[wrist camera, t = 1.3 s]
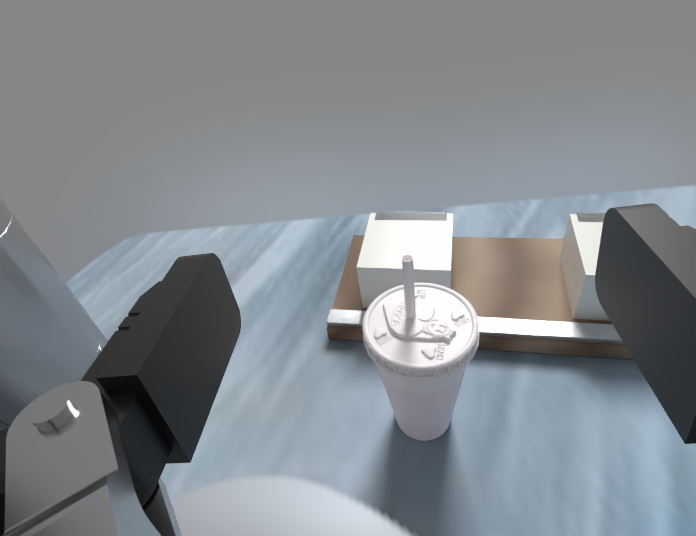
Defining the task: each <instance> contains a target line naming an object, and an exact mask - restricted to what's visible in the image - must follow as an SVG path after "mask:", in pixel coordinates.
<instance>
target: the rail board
mask: <svg viewBox="0 0 696 536" xmlns="http://www.w3.org/2000/svg"><path fill="white" fill-rule="evenodd" d="M605 214H606V213H576V214H570V216H569V220H568V224H567V228H566V233H565V237H564V239H532V238H474V237H452V235H453V214H447V212H376V213H370V217H369V221H368V225H367V228H366V232H365V236H358V235H354V236H353V240H352V243H351V246H350V250H349V253H348V257H347V260H346V264H345V267H344V271H343V274H342V278H341V281H340V285H339V288H338V292H337V295H336V299H335V302H334V306H333V309H330V312H329V316H328V319H327V326H328V327H327V332H328V336H329V339H341V340H356V341H363V319H364V315H365V312H366V311H367V309H368V307H369V306H370V304H371V303H372V302H373V301H374V300H375V299H376V298H377V297H378V296H379V295H381V294H382V293H384V292H386V291H387V290H389V289H391V288H394V287H397V286H400V285H404V284H403V269H402V257H403V256H404V255H411V256H413V265H414V283H432V284H438V285H441V286H444V287H447V288H450V289H452V290H454V291H456V292H457V293H459V294H460V295H462V296H463V297H464V298H465V299H466V300H468V302H469V303H470V304H471V305H472V307H473V308H474V310H475V312H476V314H477V317H478V321H479V333H480V334H479V346H478V348H477V349H486V350H500V351H514V352H529V353H543V354H558V355H572V356H587V357H601V358H615V359H630V360H634V359H633V357H632V356H631V354H630V352H629V351H628V349H627V347H626V346H625V344H624V343H623V341H622V339H621V338H620V336H619V334H618V333H617V331H616V329H615V328H614V326H613V324H612V323H611V321H610V319H609V318H608V316H607V315H606V313H605V311H604V310H603V308H602V306H601V304H600V302H599V300H598V297H597V293H596V287H595V272H596V266H597V259H598V253H599V246H600V239H601V233H602V226H603V220H604V216H605ZM669 216H670V215H669ZM670 217H671V216H670Z"/></svg>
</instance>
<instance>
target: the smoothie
mask: <svg viewBox="0 0 696 536" xmlns="http://www.w3.org/2000/svg"><path fill="white" fill-rule="evenodd" d="M402 269H403V284H404V285H400V286H397V287H394V288H391V289H389V290H387V291H386V292H384V293H382V294H381V295H379V296H378V297H377V298H376V299H375V300H374V301H373V302H372V303H371V304H370V306H369V307H368V309H367V311H366V312H365V315H364V319H363V341H364V345H365V348H366V351H367V353H368V355H369V356H370V358H371V359H372V360H373V361H374V363H375V364H376V365H377V367H378V370H379V372H380V375H381V378H382V381H383V384H384V387H385V389H386V392H387V395H388V398H389V401H390V404H391V406H392V409H393V412H394V415H395V418H396V420H397V423H398V425H399V427H400V429H401V430H402V431H403V432H404V433H405V434H406V435H407V436H409V437H411V438H413V439H416V440H420V441H429V440H433V439H436V438H438V437H440V436H441V435H443V434H444V433H445V432H446V430H447V429H448V427H449V424H450V421H451V417H452V414H453V410H454V407H455V403H456V400H457V396H458V393H459V389H460V386H461V382H462V379H463V376H464V372H465V369H466V366H467V364H468V363H469V361H470V360H471V359H472V358H473V357H474V355H475V353H476V350H477V348H478V346H479V334H480V333H479V321H478V317H477V314H476V312H475V310H474V308H473V307H472V305H471V304H470V303H469V302H468V300H466V299H465V298H464V297H463V296H462V295H460V294H459V293H457V292H456V291H454V290H452V289H450V288H447V287H444V286H441V285H438V284H432V283H414V265H413V256H411V255H404V256H403V257H402Z"/></svg>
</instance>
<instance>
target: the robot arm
mask: <svg viewBox="0 0 696 536" xmlns="http://www.w3.org/2000/svg"><path fill="white" fill-rule="evenodd" d="M595 287H596V293H597V297H598V300H599V302H600V304H601V306H602V308H603V310H604V311H605V313H606V315H607V316H608V318H609V319H610V321H611V323H612V324H613V326H614V328H615V329H616V331H617V333H618V334H619V336H620V338H621V339H622V341H623V343H624V344H625V346H626V347H627V349H628V351H629V352H630V354H631V356H632V357H633V359H634V361H635V362H636V364H637V366H638V367H639V369H640V370H641V372H642V374H643V375H644V377H645V379H646V380H647V382H648V384H649V385H650V387H651V389H652V390H653V392H654V394H655V395H656V397H657V398H658V400H659V402H660V403H661V405H662V407H663V408H664V410H665V412H666V413H667V415H668V417H669V418H670V420H671V421H672V423H673V425H674V426H675V428H676V430H677V431H678V433H679V435H680V436H681V438H682V440H683V441H684V443H685V444H690V443H696V229H694V228H692V227H690V226H679V225H678V224H677V223H676V222H675V221H674V220H673V219H672V218H671V217H670V216H669V215H668V214H667V213H665V212H664V211H663V210H662V209H661V208H660V207H659V206H658V205H656V204H652V203H651V204H643V205H634V206H625V207H617V208H610V209H609V210H608V211H607V212H606V214H605V216H604V220H603V226H602V233H601V239H600V246H599V253H598V259H597V266H596V272H595ZM128 314H129V316H128V317H125V319H124V320H123V322H122V323H121V324H120V326H119V327H118V328H119V330H118V331H115V333H114V334H113V336H112V337H111V338H110V340H109V341H107V340H106V338H105V337H104V336H103V334H102V333H101V331H100V330H99V329H98V327H97V326H96V325H95V323H94V322H93V321H92V319H91V318H90V316H89V315H88V314H87V312H86V311H85V309H84V308H83V307H82V305H81V304H80V303H79V301H78V300H77V298H76V297H75V296H74V294H73V293H72V292H71V290H70V289H69V288H68V286H67V285H66V284H65V282H64V281H63V280H62V278H61V277H60V276H59V274H58V273H57V272H56V270H55V269H54V267H53V266H52V265H51V263H50V262H49V261H48V260H47V258H46V257H45V255H44V254H43V253H42V251H41V250H40V249H39V247H38V246H37V245H36V243H35V242H34V241H33V239H32V238H31V237H30V235H29V234H28V233H27V232H26V230H25V228H24V227H23V226H22V224H21V223H20V222H19V220H18V219H17V218H16V216H15V215H14V214H13V212H12V211H11V210H10V209H9V207H8V206H7V205H6V203H5V202H4V201H3V199H2V198H1V197H0V420H1V421H2V422H4V423H6V424H8V425H10V427H9V429H6V430H3V431H0V536H182V535H181V531H180V528H179V526H178V522H177V520H176V516H175V514H174V510H173V507H172V504H171V501H170V498H169V495H168V492H167V489H166V486H165V484H164V482H163V481H162V479H161V478H160V476H161V474H162V471H163V469H164V467H165V464H166V463H189V462H191V460H192V457H193V454H194V452H195V449H196V447H197V444H198V441H199V439H200V436H201V434H202V431H203V428H204V426H205V423H206V420H207V418H208V415H209V413H210V410H211V407H212V405H213V402H214V400H215V397H216V394H217V392H218V389H219V386H220V384H221V381H222V379H223V376H224V373H225V371H226V368H227V366H228V363H229V360H230V358H231V355H232V353H233V350H234V347H235V345H236V342H237V339H238V337H239V334H240V328H241V317H240V311H239V308H238V305H237V302H236V300H235V297H234V295H233V292H232V289H231V287H230V284H229V282H228V279H227V277H226V274H225V271H224V269H223V266H222V264H221V261H220V259H219V258H218V257H217V255H215V254H213V253H209V254H200V255H192V256H183V257H179V258H178V259H177V260H176V261H175V262H174V264H173V265H172V267H171V268H170V270H169V271H168V273H167V274H166V276H165V277H164V279H163V280H162V281H159V282H158V283H156V284H155V285H154V286H153V287H152V288H150V289H149V290H148V291H147V292H145V293H144V294H143V295H142V296H140V298H139V299H138V300H137V302H136V303H135V305H134V306H133V308H132V309H131V310H130V312H129V313H128Z"/></svg>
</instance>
